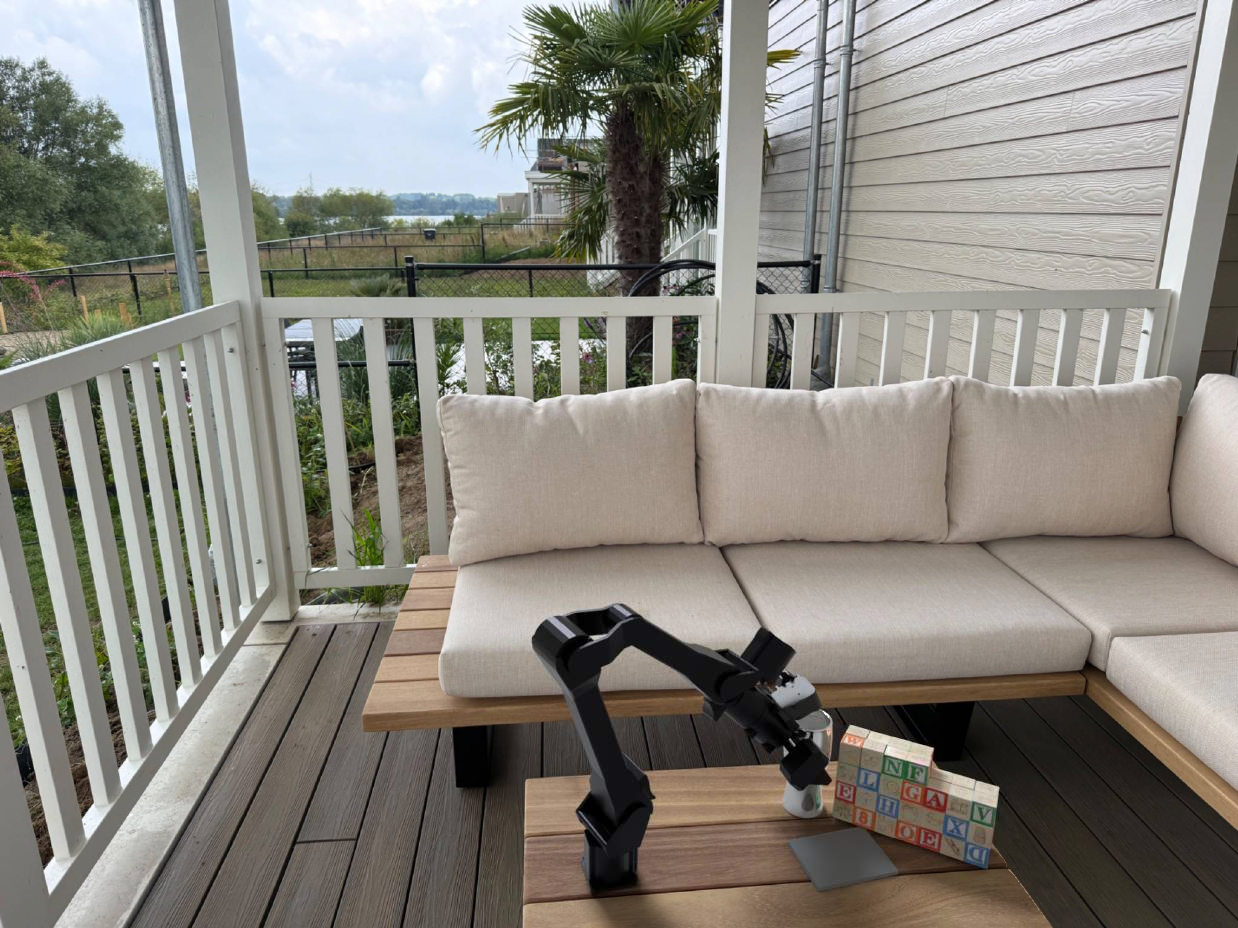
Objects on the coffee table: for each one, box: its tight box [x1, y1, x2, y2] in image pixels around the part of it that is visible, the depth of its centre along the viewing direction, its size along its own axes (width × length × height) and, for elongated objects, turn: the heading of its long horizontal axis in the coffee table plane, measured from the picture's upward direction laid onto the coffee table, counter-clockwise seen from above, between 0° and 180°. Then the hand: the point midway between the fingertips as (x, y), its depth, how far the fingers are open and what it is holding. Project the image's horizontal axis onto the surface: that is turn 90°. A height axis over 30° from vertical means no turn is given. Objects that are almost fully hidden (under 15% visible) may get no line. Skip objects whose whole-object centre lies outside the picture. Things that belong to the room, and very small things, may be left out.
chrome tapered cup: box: [781, 709, 833, 819], centre depth 121 cm, size 7×7×15 cm
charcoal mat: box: [787, 826, 899, 892], centre depth 112 cm, size 12×9×1 cm
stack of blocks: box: [831, 724, 1000, 870], centre depth 116 cm, size 21×6×12 cm, turn 61°
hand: (814, 763), depth 121 cm, fingers open, 9 cm apart
